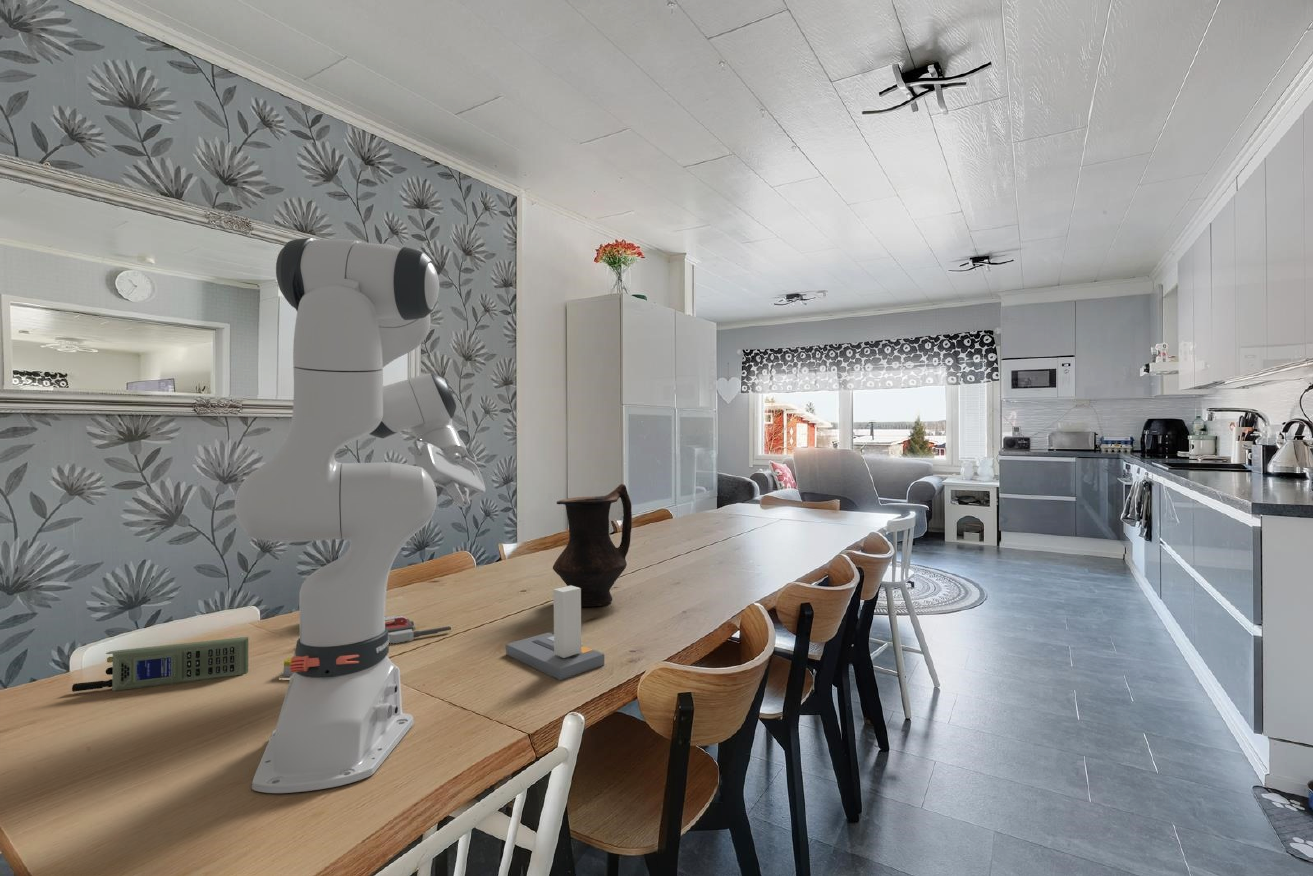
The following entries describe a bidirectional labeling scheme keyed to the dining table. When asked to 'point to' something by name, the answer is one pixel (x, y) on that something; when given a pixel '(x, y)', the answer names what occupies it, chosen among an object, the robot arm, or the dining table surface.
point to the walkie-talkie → (406, 629)
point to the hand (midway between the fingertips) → (463, 505)
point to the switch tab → (567, 621)
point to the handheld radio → (173, 664)
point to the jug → (594, 546)
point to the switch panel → (553, 656)
